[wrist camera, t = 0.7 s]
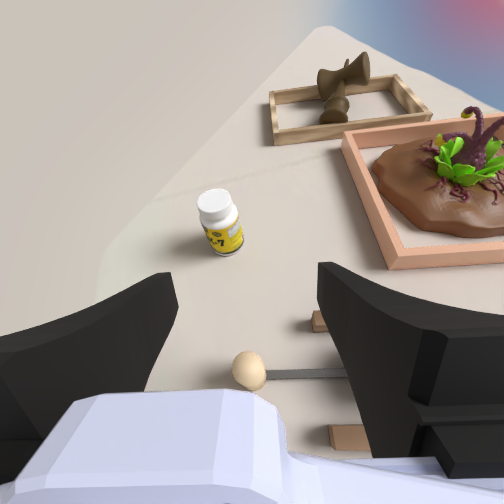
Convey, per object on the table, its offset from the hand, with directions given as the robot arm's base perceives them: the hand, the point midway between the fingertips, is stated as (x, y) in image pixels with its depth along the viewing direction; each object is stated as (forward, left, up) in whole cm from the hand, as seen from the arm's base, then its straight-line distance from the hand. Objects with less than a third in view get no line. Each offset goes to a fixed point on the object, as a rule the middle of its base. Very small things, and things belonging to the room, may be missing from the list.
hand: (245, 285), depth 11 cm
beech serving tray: (+47, -17, -16) cm, 53 cm away
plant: (+22, -28, -17) cm, 40 cm away
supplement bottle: (+15, +5, -16) cm, 23 cm away
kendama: (+48, -18, -15) cm, 54 cm away
